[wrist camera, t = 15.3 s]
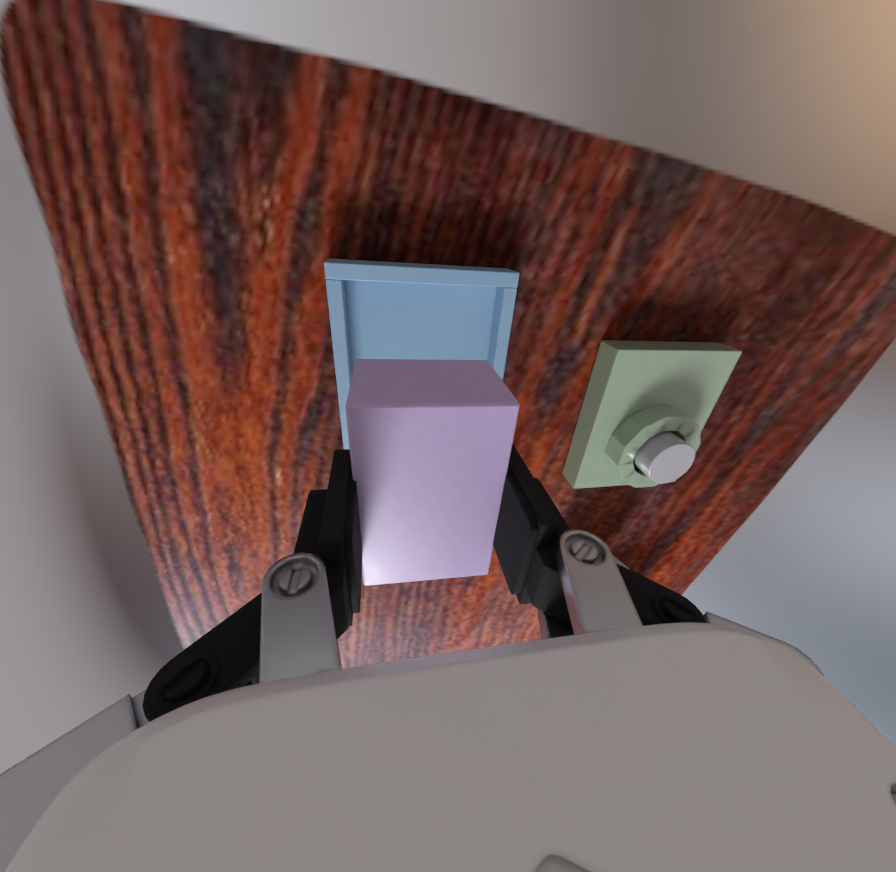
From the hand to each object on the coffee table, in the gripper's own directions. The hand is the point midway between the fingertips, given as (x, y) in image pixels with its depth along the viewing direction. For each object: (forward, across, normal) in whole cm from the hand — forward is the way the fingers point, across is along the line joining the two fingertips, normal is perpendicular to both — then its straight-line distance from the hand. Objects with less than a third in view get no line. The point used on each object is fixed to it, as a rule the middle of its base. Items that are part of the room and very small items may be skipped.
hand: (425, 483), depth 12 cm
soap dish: (+13, -1, 0) cm, 13 cm away
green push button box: (+13, -19, +4) cm, 24 cm away
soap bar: (+2, 0, 0) cm, 2 cm away
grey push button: (+10, -19, +6) cm, 22 cm away
